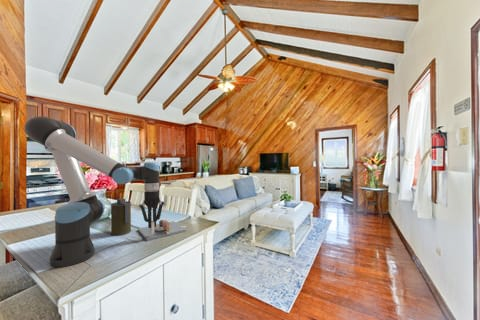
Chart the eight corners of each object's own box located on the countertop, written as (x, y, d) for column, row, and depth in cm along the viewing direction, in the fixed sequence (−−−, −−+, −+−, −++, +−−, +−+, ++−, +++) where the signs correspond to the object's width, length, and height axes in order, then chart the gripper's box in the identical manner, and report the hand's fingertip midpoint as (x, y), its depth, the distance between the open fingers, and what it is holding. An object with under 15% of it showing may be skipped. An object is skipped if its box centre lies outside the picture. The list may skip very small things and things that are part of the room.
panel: (147, 241, 105) (147, 238, 105) (138, 230, 120) (138, 228, 120) (189, 230, 120) (189, 228, 120) (176, 222, 135) (176, 220, 135)
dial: (150, 228, 120) (150, 218, 120) (167, 224, 126) (167, 215, 126) (158, 235, 109) (158, 224, 109) (176, 231, 115) (176, 221, 115)
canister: (106, 233, 115) (106, 199, 115) (124, 228, 124) (124, 196, 124) (118, 237, 110) (117, 201, 110) (135, 231, 119) (135, 198, 119)
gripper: (140, 192, 101) (141, 238, 101) (166, 190, 109) (166, 232, 110) (137, 190, 107) (137, 234, 107) (161, 188, 115) (162, 228, 115)
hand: (152, 233), depth 108 cm, fingers closed
